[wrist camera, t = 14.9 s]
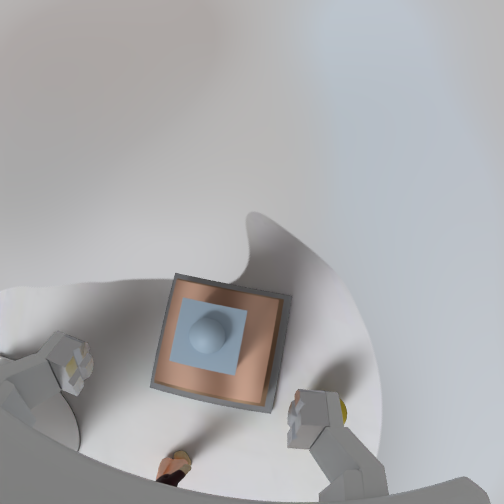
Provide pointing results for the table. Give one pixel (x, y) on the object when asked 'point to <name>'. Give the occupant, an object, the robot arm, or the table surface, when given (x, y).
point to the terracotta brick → (251, 351)
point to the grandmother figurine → (173, 469)
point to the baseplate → (276, 357)
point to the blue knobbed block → (208, 336)
